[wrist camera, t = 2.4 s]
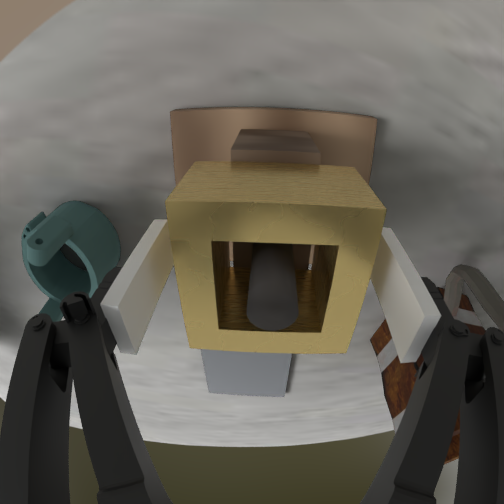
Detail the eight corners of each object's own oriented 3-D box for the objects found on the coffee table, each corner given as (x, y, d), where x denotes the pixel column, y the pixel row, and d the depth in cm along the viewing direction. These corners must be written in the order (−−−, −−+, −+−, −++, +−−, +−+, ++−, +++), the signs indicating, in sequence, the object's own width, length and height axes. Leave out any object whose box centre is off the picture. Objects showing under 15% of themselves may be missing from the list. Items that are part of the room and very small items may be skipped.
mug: (451, 356, 34) (484, 449, 21) (362, 373, 35) (380, 481, 23) (499, 231, 23) (584, 335, 11) (385, 239, 25) (456, 388, 12)
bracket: (96, 185, 23) (33, 239, 16) (136, 272, 28) (98, 341, 20) (34, 211, 25) (-22, 261, 17) (73, 283, 30) (33, 341, 22)
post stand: (187, 251, 26) (139, 380, 15) (175, 109, 20) (69, 164, 9) (350, 256, 26) (390, 388, 15) (372, 116, 19) (480, 180, 8)
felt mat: (209, 389, 38) (209, 392, 38) (201, 342, 33) (200, 346, 32) (284, 393, 38) (284, 396, 37) (292, 347, 32) (292, 351, 32)
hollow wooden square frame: (205, 286, 19) (189, 347, 15) (195, 161, 15) (164, 201, 11) (333, 291, 19) (346, 353, 15) (354, 167, 15) (386, 209, 10)
